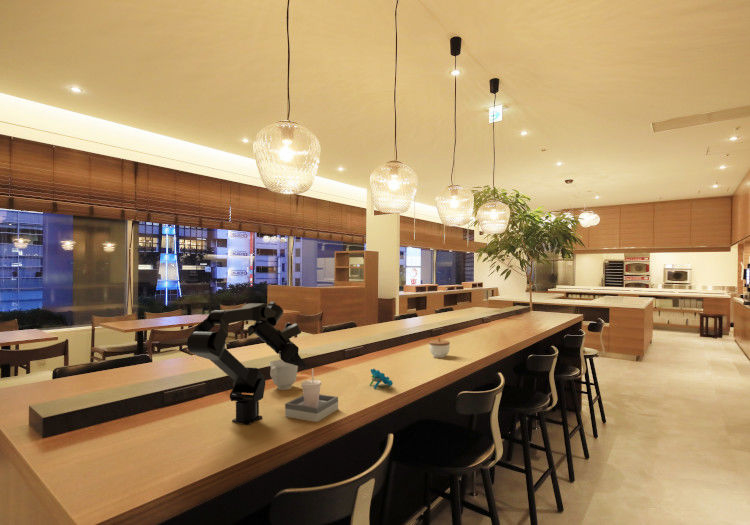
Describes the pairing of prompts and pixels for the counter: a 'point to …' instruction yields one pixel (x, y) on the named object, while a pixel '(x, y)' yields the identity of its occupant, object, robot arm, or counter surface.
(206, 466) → the counter surface
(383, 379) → the blue bumpy figure
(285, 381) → the teacup
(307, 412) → the socket box
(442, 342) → the lidded jar
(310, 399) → the smoothie
